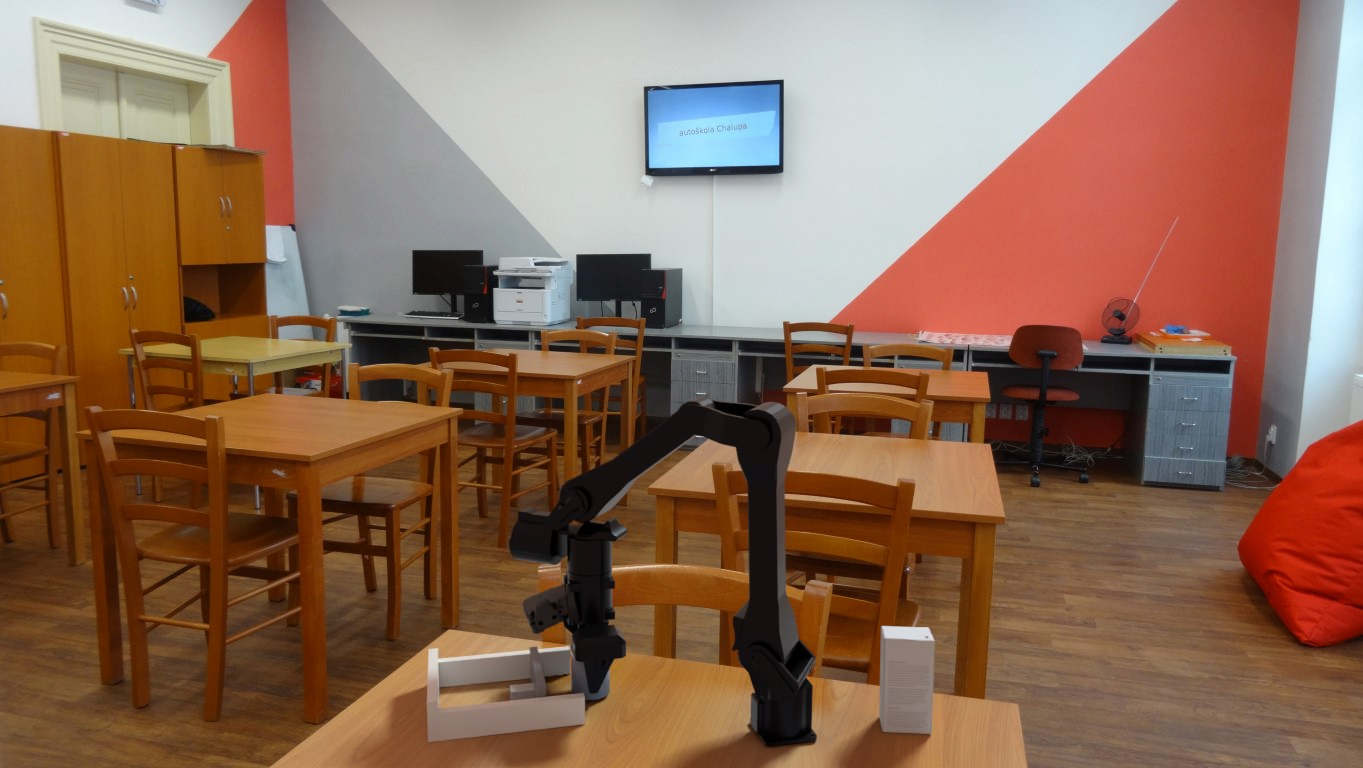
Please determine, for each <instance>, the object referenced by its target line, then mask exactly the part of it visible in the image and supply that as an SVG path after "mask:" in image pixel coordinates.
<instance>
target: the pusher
mask: <svg viewBox="0 0 1363 768" xmlns="http://www.w3.org/2000/svg"><path fill="white" fill-rule="evenodd" d="M538 649H539V648H538V646H537V645H536V646H530V647H529V650H530V678H529V679H530V682H527V683H520V684H512V685H511V684H510V685H509V696H510V697H509V698H510V701H512V700H522V699H531V698H540V697H547V684H546V679H545V678H546V677H544V674H543V670H542V666H541V661H540V657H539V653H538Z"/></svg>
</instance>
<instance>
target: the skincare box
mask: <svg viewBox="0 0 1363 768" xmlns="http://www.w3.org/2000/svg"><path fill="white" fill-rule="evenodd" d="M935 648H936V641H935V638H934V636H933V634H932V632H931V629H930V628H929V627H927V626H926V627H921V626H920V627H919V626H918V627H916V626H891V625H881V626H880V654H879V655H880V656H879V661H880V663H879V666H880V667H879V696H878V697H879V702H878V703H879V704H878V705H879V706H878V707H879V708H878V716H879V717H878V718H879V721H880V726H881V731H882V732H883V733H896V734H898V733H899V734H917V735H918V734H920V735H921V734H922V735H931V734H932V732H933V709H934V708H933V706H934V705H933V703H934V682H935V681H934V679H935V677H934V676H935V674H934V673H935Z"/></svg>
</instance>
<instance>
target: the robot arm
mask: <svg viewBox="0 0 1363 768" xmlns="http://www.w3.org/2000/svg"><path fill="white" fill-rule="evenodd" d="M796 432H797V421H796V417H795V415H794V413H793V412H791V410H789V408H788V407H787V406H785V405H783V404H781V403H780V402H775V401H769V402H768V401H767V402H764V403H762V404H759V405H756V404H752V403H747V402H746V403H745V402H743V403H742V402H735V401H724V400H717V399H713V398H712V399H711V398H709V397H706V396H705V397H704V396H701V397H699V396H698V397H696V398H694V399H691V400H688V401H686V402H684V403H683V404H681V406H680V407H679V408H677V410H676V411H675V412H674V413H673V414H671V415H670V416H668V417H667V418H665V420H663V421H662V422H660V423H659V424H658V425H656V426H655V427H653V428H652V429H651V430H650V431H648V432H647V433H646V434H644V435H643V436H641V438H639V439H638V440H636V441H635V442H634V443H632V444H631V445H630V446H628V447H627V448H626V449H624V450H623V451H622V452H620V453H619V454H618V455H616V456H614V457H613V458H612V459H610V460H608V461H606V462H604V463H602V464H599V465H598V466H596V467H593V468H591V469H590V470H588V471H584V472H583V473H581V474H579V475H577V476H575V477H573V478H570V479H568V480H566V481H565V482H564V483H563V484H562V485H561V487H560V488H559V498H558V499H559V501H558V503H556V504H555V506H554V508H553V509H552V510H551V511H543V510H538V509H536V508H532V507H525V508H523V509H521V510H518V512H517V520H516V522H515V523H514V525H513V527H512V530H511V534H510V538H509V539H508V547H509V548H508V549H509V553H510V555H511V557H512V558H513V559H514V560H518V561H524V562H529V563H530V562H531V563H538V564H545V565H552V566H556V565H558V564H559V563H560V562H561V561H562V560H563V559H566V558H567V559H566V561H567V562H566V563H567V564H566V565H567V566H566V567H567V570H566V571H565V572H564V573H565V574H563V575H562V584H560V585H557V586H554V587H551V588H548V589H545V590H544V591H541V592H539V593H536V594H534V595H532V596H529V597H527V598H526V599H524V600H523V601H522V609H523V612H524V616H525V617H526V620H527V622H528V624H529V627H530V629H531V632H532V634H535V635H537V634H540V633H543V632H545V630H547V629H550V628H551V627H555V626H556V625H558V624H560V623H562V624H563V626H564V628H565V629H567V631H568V632H570V633H571V634H572V635H571V644H570V646H569V647H570V649H572V652H573V655H574V658H575V661H578V662H583V663H584V668H585V673H586V678H587V683H588V688H589V692H590V694H594V693H598V692H599V690H600V688H601V686H602V683H603V681H604V679H605V677H606V675H607V673H608V671H609V669H610V668H611V666H612V664H613V663H614V661H615V660H616V659H618V660H619V659H623V658H625V657H627V640H626V639H625V637H624V634H623V632H622V630H621V629H619V627H617V625H615V624H609V623H610V621H613V620H616V611H615V609H614V606H613V590H614V589H616V580H615V578H614V576H613V543H615V542H618V540H620V539H622V538H623V537H625V536H626V535H628V533H629V530H628V529H627V528H626V527H625V526H624V525H623V524H621V523H620V522H619V521H618V519H617V518H616V517H611V518H610V519H607V520H606V521H605V522H602V521H594V519H596V518H598V517H600V516H601V515H603V514H605V513H606V512H608V511H610V510H611V509H612V508H614V507H615V506H616V505H617V504H618V503H619V501H621V500H622V498H623V497H624V496H625V495H626V494H627V493H628V492H629V490H630V489H631V488H632V486H633V485H634V483H635V482H636V481H637V480H638V479H639V478H640V477H642V476H644V474H646V473H647V472H648V471H651V469H653V468H654V467H656V466H657V465H658V464H659V463H661V462H662V461H664V460H665V459H666V458H668V457H669V456H671V455H672V454H674V453H675V452H676V451H677V450H679V449H680V448H681V447H683V446H684V445H686V444H687V443H689V442H690V441H691V440H693V439H694V438H695V437H697V436H700V437H704V438H705V439H708V440H710V441H713V442H715V443H718V444H719V445H720V444H721V445H723V446H727V447H732V448H733V447H734V448H735V452H736V456H737V457H736V458H737V462H738V466H739V467H740V469H741V471H742V474H743V478H745V481H746V487H747V488H746V489H747V533H748V534H747V537H748V539H747V540H748V542H747V543H748V590H749V591H748V593H749V595H748V597H749V598H748V600H747V601H746V602H745V603H743V605H742V606H741V608H740V609H739V610H738V611H737V612H736V613H735V614H734V615H733V617H732V627H733V633H734V641H733V642H734V643H733V646H732V649H731V650H732V651H733V652H736V651H737V658H738V662H739V665H740V667H742V668H744V670H745V671H746V672H747V673H748V676H749V679H750V682H751V685H752V688H753V690H754V692H752V693H751V694H750V718H749V723H750V726H751V727H752V728H753V730H754V732H755V733H756V734H757V735H758V737H759V738H760V740H761V741H762V743H763V744H764V745H765V746H766V747H776V746H777V747H778V746H782V745H791V744H799V743H806V742H814V741H817V740H818V735H817V732H815V731H814V729H813V697H814V696H813V695H814V694H813V692H814V689H813V688H814V685H813V684H812V682H811V681H810V680H809V679H808V678H807V677H808V676H809V675H810V673H811V672H812V670H813V668H814V666H815V663H816V661H817V657H816V656H815V654H814V653H813V652H812V651H811V650H810V648H809V647H808V646H807V645H806V644H805V643H804V642H803V640H802V639H800V637H799V632H798V628H797V621H796V616H795V612H794V609H793V607H792V604H791V603H790V600H789V598H788V595H787V577H786V576H787V575H786V573H787V571H786V569H787V568H786V564H787V563H786V512H785V511H786V504H785V503H786V495H785V494H786V493H785V491H786V489H785V488H786V487H785V486H786V485H785V484H786V483H785V481H786V480H785V479H786V476H787V472H788V469H789V467H790V463H791V458H792V454H793V451H794V443H795V439H796ZM573 522H577V523H580V524H581V525H580V524H572V523H573ZM610 670H611V669H610Z"/></svg>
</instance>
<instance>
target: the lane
mask: <svg viewBox="0 0 1363 768" xmlns="http://www.w3.org/2000/svg"><path fill="white" fill-rule="evenodd" d="M570 649H571V647H570V646H569V645H567V646H559V647H547V648H538V653H539V657H540V661H541V666H542V670H543V674H544V678H546V677H547V676H548V677H555V676H554V675H557V676H563V675H562V674H567V675H571V657H570ZM427 660H428V661H427V685H426V686H427V689H426V717H427V722H426V723H427V742H428V743H432V742H433V743H434V742H442V741H451V740H458V739H467V738H477V737H487V736H495V735H496V736H497V735H502V734H511V733H521V732H530V731H535V730H536V731H537V730H547V729H555V728H563V727H571V726H572V727H573V726H581V725H586V700H585V696H584V693H578V694H572V693H570V694H561V695H552V696H551V695H550V696H546V697H540V698H531V699H522V700H512V701H511V700H505V701H504V700H503V701H495V702H487V703H476V704H466V705H458V706H457V705H456V706H449V707H440V688H447V687H449V688H450V687H457V686H466V685H467V686H468V685H479V684H486V683H496V682H498V683H499V682H507V681H516V680H526V679H528V680H529V679H530V649H528V650H527V649H526V650H517V651H507V652H505V651H504V652H496V653H495V652H494V653H488V654H487V653H486V654H475V655H474V654H472V655H464V656H454V657H453V656H452V657H444V658H443V657H441V658H439V648H438V647H435V648H428V659H427Z"/></svg>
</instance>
